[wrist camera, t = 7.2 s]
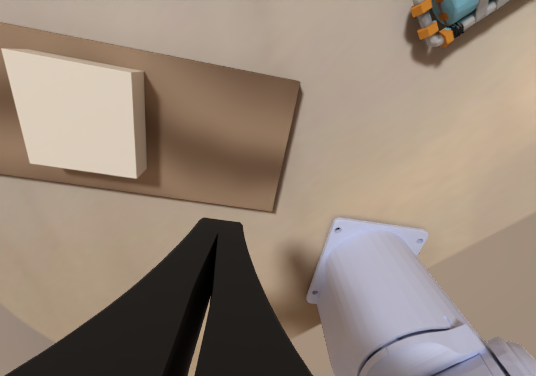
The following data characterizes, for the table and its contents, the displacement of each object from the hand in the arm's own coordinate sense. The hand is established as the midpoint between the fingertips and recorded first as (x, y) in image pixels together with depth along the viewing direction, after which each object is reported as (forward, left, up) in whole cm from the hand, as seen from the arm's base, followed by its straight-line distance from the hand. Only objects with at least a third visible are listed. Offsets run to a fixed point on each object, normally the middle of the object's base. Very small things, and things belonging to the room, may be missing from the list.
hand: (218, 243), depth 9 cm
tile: (+1, +6, -8) cm, 10 cm away
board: (0, +7, -10) cm, 12 cm away
